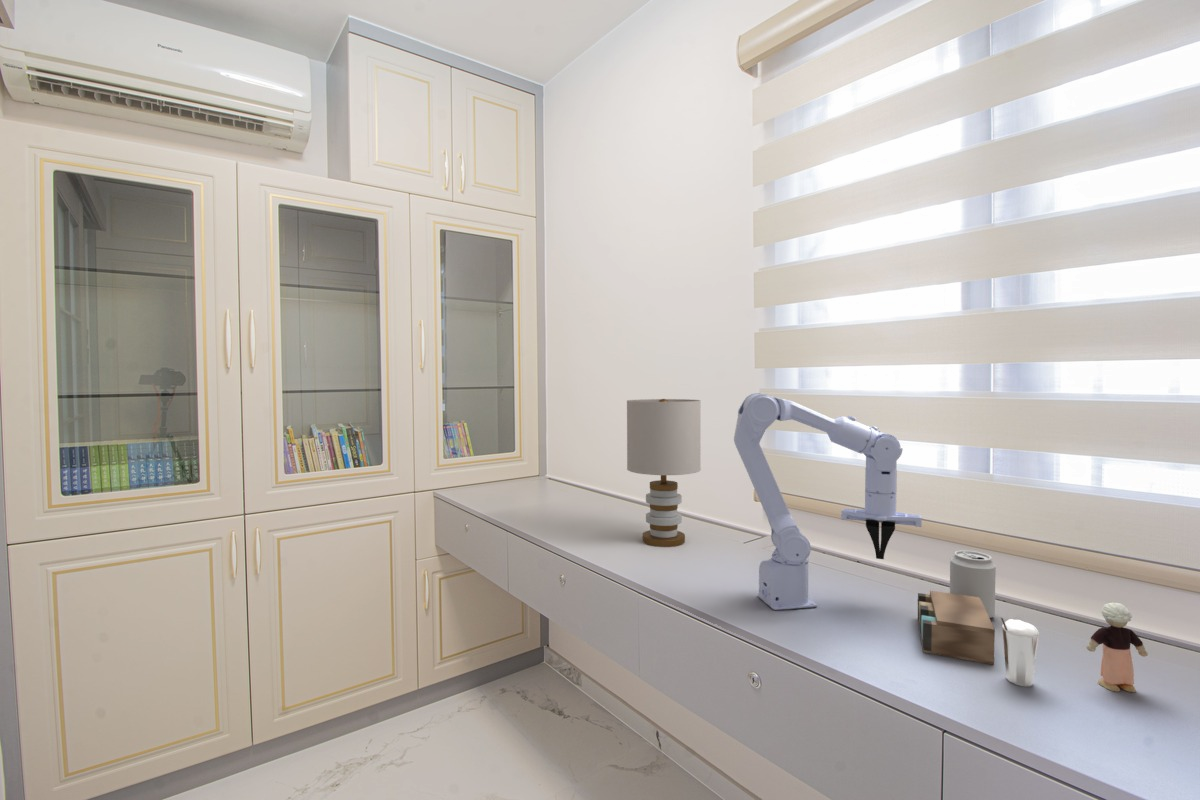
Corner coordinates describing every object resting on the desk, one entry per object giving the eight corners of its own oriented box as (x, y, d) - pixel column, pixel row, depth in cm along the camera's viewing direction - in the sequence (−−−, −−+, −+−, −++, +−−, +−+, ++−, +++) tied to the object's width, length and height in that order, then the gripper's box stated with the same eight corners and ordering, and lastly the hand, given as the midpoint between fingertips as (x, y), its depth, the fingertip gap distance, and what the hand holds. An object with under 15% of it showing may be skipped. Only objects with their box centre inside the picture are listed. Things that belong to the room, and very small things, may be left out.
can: (980, 625, 106) (981, 562, 106) (941, 611, 113) (942, 551, 113) (1003, 617, 110) (1004, 556, 109) (963, 604, 116) (964, 546, 116)
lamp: (660, 527, 178) (660, 397, 177) (715, 541, 163) (715, 398, 162) (612, 540, 164) (611, 399, 163) (667, 556, 149) (667, 400, 147)
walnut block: (923, 652, 96) (923, 618, 96) (917, 618, 110) (917, 588, 109) (994, 664, 92) (994, 629, 92) (979, 628, 105) (979, 597, 105)
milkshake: (989, 674, 89) (990, 611, 88) (1021, 672, 89) (1022, 610, 89) (1012, 690, 84) (1013, 624, 84) (1046, 688, 85) (1047, 622, 84)
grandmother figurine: (1126, 679, 87) (1128, 597, 87) (1151, 693, 83) (1153, 608, 83) (1077, 680, 87) (1079, 598, 86) (1100, 694, 83) (1102, 609, 83)
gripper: (840, 492, 115) (840, 558, 115) (923, 498, 108) (922, 568, 109) (842, 486, 121) (842, 549, 122) (920, 491, 115) (919, 558, 115)
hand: (879, 557), depth 116 cm, fingers closed
